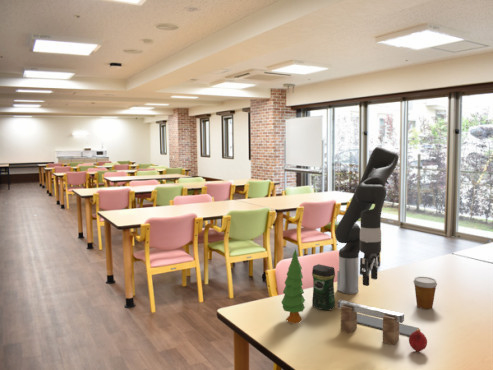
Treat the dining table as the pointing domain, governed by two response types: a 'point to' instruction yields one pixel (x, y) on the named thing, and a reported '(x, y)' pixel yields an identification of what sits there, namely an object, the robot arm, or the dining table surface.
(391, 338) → the post
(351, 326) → the post
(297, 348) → the dining table surface
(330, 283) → the coffee jar
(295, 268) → the decorative tree
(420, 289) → the disposable coffee cup
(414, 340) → the onion
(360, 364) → the dining table surface
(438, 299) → the dining table surface
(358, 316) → the mat
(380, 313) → the rail
